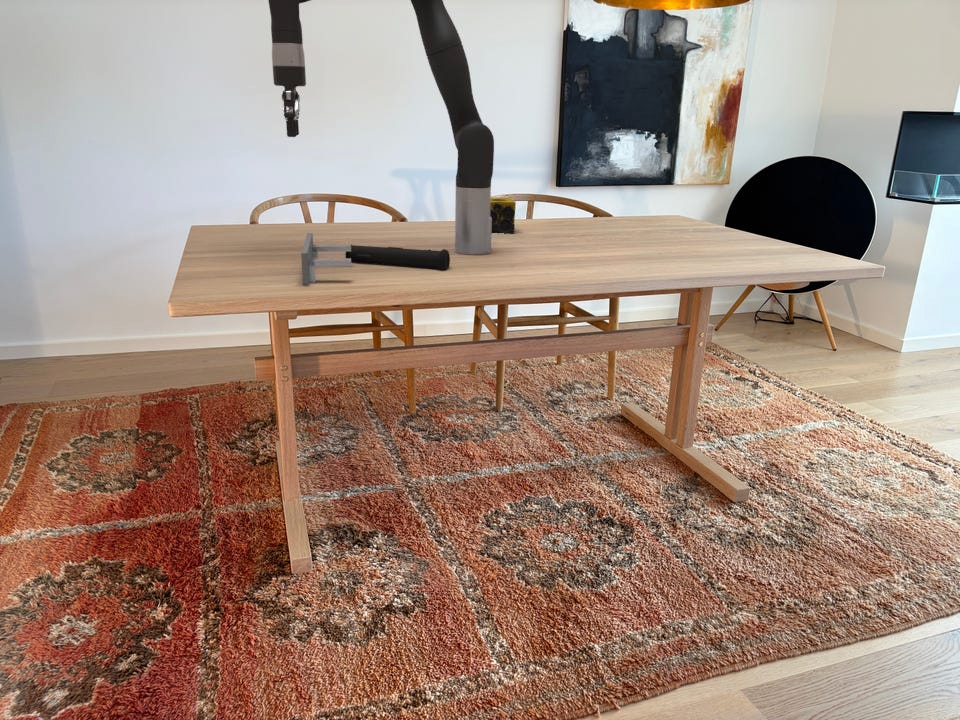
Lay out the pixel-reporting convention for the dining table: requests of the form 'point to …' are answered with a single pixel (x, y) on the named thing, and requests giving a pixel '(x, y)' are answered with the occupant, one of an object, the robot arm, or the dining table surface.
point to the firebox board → (306, 258)
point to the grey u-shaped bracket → (327, 262)
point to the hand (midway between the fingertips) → (293, 136)
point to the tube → (400, 257)
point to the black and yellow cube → (502, 215)
